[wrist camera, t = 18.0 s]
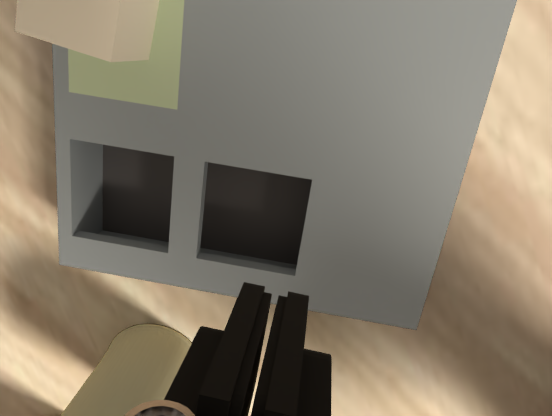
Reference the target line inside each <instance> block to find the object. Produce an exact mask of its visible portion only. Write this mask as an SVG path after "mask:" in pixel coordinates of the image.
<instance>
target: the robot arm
mask: <svg viewBox="0 0 552 416" xmlns="http://www.w3.org/2000/svg"><path fill="white" fill-rule="evenodd" d="M264 291H265V286H261V285H256V284H252V283H247V282H244V283H243V285H242V288H241V290H240V293H239V295H238V298H237V300H236V303H235V305H234V308H233V310H232V313H231V315H230V318H229V320H228V323H227V325H226V328H225V330H224V331H222V330H217V329H212V328H208V327H203V326H202V327H200V329H199V330H198V332H197V334H196V336H195V338H194V340H193V342H192V344H191V346H190V348H189V350H188V352H187V354H186V356H185V358H184V360H183V362H182V364H181V366H180V368H179V370H178V372H177V374H176V376H175V378H174V380H173V382H172V384H171V386H170V388H169V390H168V392H167V394H166V396H165V398H164V400H153V401H149V402H145V403H142V404H140V405H138V406H136V407H134V408H132V409H131V410H130V411H129V412H127V413H126V414H125V415H124V416H248V413H249V408H250V404H251V400H252V396H253V392H254V387H255V382H256V377H257V372H258V367H259V361H260V356H261V351H262V345H263V340H264V335H265V329H266V324H267V319H268V313H269V308H270V303H271V297H272V294H271V293H266V292H264ZM308 303H309V296H308V295H303V294H299V293H294V292H289V291H288V295H287V297H285V296H281V295H279V296H278V300H277V305H276V309H275V313H274V317H273V322H272V326H271V330H270V335H269V339H268V343H267V347H266V352H265V356H264V360H263V365H262V369H261V373H260V377H259V382H258V386H257V390H256V395H255V399H254V404H253V408H252V413H251V416H331V354H326V353H322V352H317V351H312V350H308V349H304V341H305V332H306V322H307V312H308Z"/></svg>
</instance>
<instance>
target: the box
mask: <svg viewBox="0 0 552 416" xmlns="http://www.w3.org/2000/svg"><path fill="white" fill-rule="evenodd" d="M516 2H517V0H159V6H158V12H157V17H156V23H155V28H154V34H153V39H152V45H151V50H150V56H149V60H140V61H124V62H109V61H105V60H102V59H99V58H96V57H93V56H90V55H87V54H83V53H80V52H77V51H74V50H71V49H68V48H65V47H61V46H58V45H55V44H52V54H53V85H54V116H55V147H56V177H57V208H58V239H59V265H64V266H69V267H75V268H80V269H86V270H91V271H97V272H102V273H107V274H113V275H118V276H124V277H129V278H135V279H140V280H146V281H151V282H157V283H162V284H167V285H173V286H178V287H184V288H189V289H195V290H200V291H206V292H211V293H217V294H222V295H227V296H233V297H238V295H239V293H240V290H241V288H242V285H243V283H244V282H247V283H252V284H256V285H261V286H265V291H264V292H266V293H271V294H272V297H271V304H277V300H278V296H279V295H281V296H285V297H287V295H288V291H289V292H294V293H299V294H303V295H308V296H309V303H308V310H309V311H315V312H320V313H326V314H331V315H337V316H342V317H347V318H353V319H358V320H364V321H369V322H375V323H380V324H386V325H391V326H397V327H402V328H407V329H413V330H417V327H418V323H419V320H420V317H421V314H422V310H423V307H424V304H425V301H426V297H427V294H428V291H429V287H430V284H431V281H432V278H433V274H434V271H435V268H436V264H437V261H438V258H439V255H440V251H441V248H442V245H443V241H444V238H445V235H446V232H447V228H448V225H449V222H450V218H451V215H452V212H453V209H454V205H455V202H456V199H457V195H458V192H459V189H460V186H461V182H462V179H463V176H464V172H465V169H466V166H467V163H468V159H469V156H470V153H471V149H472V146H473V143H474V140H475V136H476V133H477V130H478V127H479V123H480V120H481V117H482V113H483V110H484V107H485V104H486V100H487V97H488V94H489V90H490V87H491V84H492V81H493V77H494V74H495V71H496V67H497V64H498V61H499V58H500V54H501V51H502V48H503V44H504V41H505V38H506V35H507V31H508V28H509V25H510V21H511V18H512V15H513V12H514V8H515V5H516Z"/></svg>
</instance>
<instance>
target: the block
mask: <svg viewBox="0 0 552 416" xmlns="http://www.w3.org/2000/svg"><path fill="white" fill-rule="evenodd" d="M158 6H159V0H17V7H16V21H15V32H17V33H21V34H24V35H27V36H30V37H33V38H36V39H39V40H43V41H46V42H49V43H52V44H55V45H58V46H61V47H65V48H68V49H71V50H74V51H77V52H80V53H83V54H87V55H90V56H93V57H96V58H99V59H102V60H105V61H109V62H124V61H140V60H149V56H150V50H151V45H152V39H153V34H154V28H155V23H156V17H157V12H158Z"/></svg>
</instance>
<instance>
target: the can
mask: <svg viewBox="0 0 552 416" xmlns="http://www.w3.org/2000/svg"><path fill="white" fill-rule="evenodd" d="M191 344H192V343H191V342H190V341H189V340H188V339H187V338H186V337H185V336H183V335H182V334H180V333H179V332H177V331H175V330H173V329H171V328H168V327H165V326H161V325H156V324H141V325H135V326H132V327H129V328H127V329H125V330H123V331H122V332H120V333H119V334H118V335H117V336H116V337H115V338H114V339H113V341H112V342H111V344H110V346H109V348H108V350H107V352H106V353H105V355H104V356H103V358H102V359H101V361H100V362H99V364H98V365H97V366H96V368H95V369H94V370H93V372H92V373H91V375H90V376H89V377H88V379H87V380H86V382H85V383H84V384H83V386H82V387H81V388H80V390H79V391H78V393H77V394H76V395H75V397H74V398H73V399H72V401H71V402H70V404H69V405H68V406H67V408H66V409H65V410H64V412H63V413H62V414H61V416H124V415H125V414H126V413H127V412H129V411H130V410H131V409H132V408H134V407H136V406H138V405H140V404H142V403H145V402H149V401H153V400H164V398H165V396H166V394H167V392H168V390H169V388H170V386H171V384H172V382H173V380H174V378H175V376H176V374H177V372H178V370H179V368H180V366H181V364H182V362H183V360H184V358H185V356H186V354H187V352H188V350H189V348H190V346H191Z"/></svg>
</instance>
